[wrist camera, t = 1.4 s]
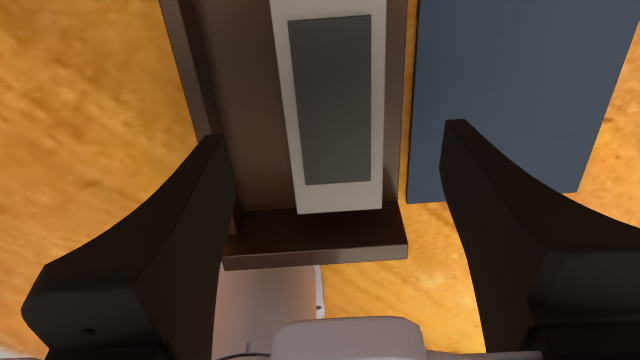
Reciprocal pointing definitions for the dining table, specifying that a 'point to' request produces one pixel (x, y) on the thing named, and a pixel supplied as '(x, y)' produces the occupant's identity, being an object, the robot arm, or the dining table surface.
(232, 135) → the dark wooden tray
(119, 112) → the dining table surface
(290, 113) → the remote
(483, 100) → the desk mat
